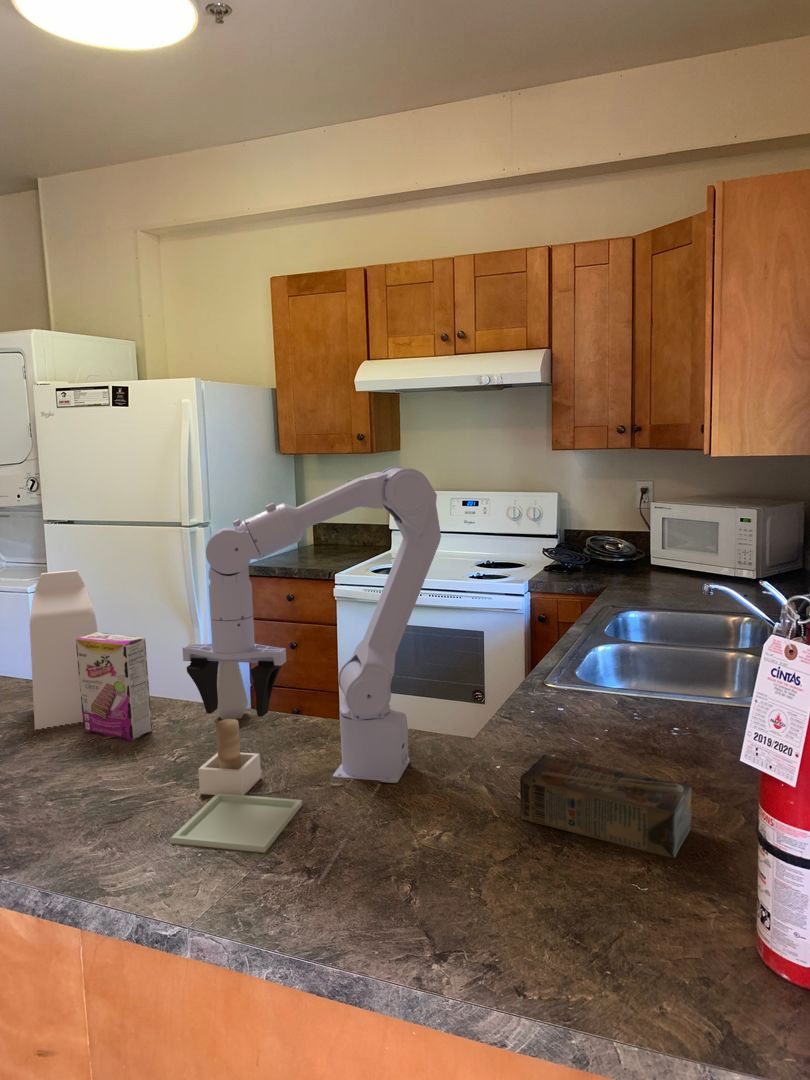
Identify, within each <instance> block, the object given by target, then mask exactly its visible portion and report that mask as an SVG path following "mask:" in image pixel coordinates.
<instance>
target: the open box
mask: <svg viewBox="0 0 810 1080" xmlns="http://www.w3.org/2000/svg"><path fill="white" fill-rule="evenodd" d="M240 757H241V768H240V769H239V770H234V769H220V768H219V762H218V752H216V753H215V754H214V755H213V756H212V757H210V758H209V759H208V760H207V761H205V762H204V764H202V765H201V766H200V767H199V768H198V769H197V770H198V781H199V782H198V783H199V794H200V795H209V796H210V795H211V796H215V795H216V794H217V793H222V794H234V795H246V794H247V793H248V792H249V791H250V790H251V789H252V787H254V786H255V785H256V784H257V783H258V782H259V780H260V779H261V778H262V771H261V770H262V768H261V754H260V753H256V752H255V753H254V752H253V753H252V752H242V751H240Z"/></svg>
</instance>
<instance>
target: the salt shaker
mask: <svg viewBox="0 0 810 1080" xmlns="http://www.w3.org/2000/svg"><path fill="white" fill-rule="evenodd" d="M244 684H245V683H244V680H243V675H242V673H241V668H240V662H224V661H219V665H218V674H217V693H218V709H216V710H215V711H216V712H217V715H218V716H219V717H220V719H221V720H225V719H235V720H239V719H242V718H243V716H244V713H245V711H246V709H247V708H248V697H247V693H246V692H247V691H246V689H245V685H244Z"/></svg>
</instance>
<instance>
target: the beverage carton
mask: <svg viewBox="0 0 810 1080" xmlns="http://www.w3.org/2000/svg"><path fill="white" fill-rule="evenodd" d="M519 782H520V783H519V784H520V786H519V788H520V789H519V791H520V792H519V793H520V819H521V820H524V821H527V822H530V823H535V824H538V825H543V826H547V827H550V828H555V829H558V830H561V831H566V832H570V833H573V834H577V835H581V836H584V837H587V838H588V837H589V838H592V839H595V840H600V841H604V842H607V843H612V844H614V845H618V846H622V847H626V848H631V849H636V850H639V851H643V852H648V853H650V854H651V853H652V854H656V855H659V856H664V857H667V858H671V859H675V858H676V857H677V855H678V852H679V851H680V849H681V847H682V845H683V843H684V841H685V840H686V838H687V836H688V835H689V833H690V831H691V826H692V825H691V823H692V822H691V821H692V795H693V794H692V791H693V790H692V787H691V786H689V785H686V784H682V783H676V782H674V781H673V782H672V781H666V780H661V779H658V778H655V777H650V776H646V775H642V774H641V775H640V774H638V773H637V774H636V773H632V772H627V771H624V770H619V769H614V768H612V767H611V768H610V767H605V766H600V765H595V764H592V763H587V762H582V761H579V760H574V759H569V758H566V757H565V758H564V757H560V756H556V755H547V754H543V755H542V756H541V757H540V758H539V759H538V760H537V761H536V762H535V763H534V764H532V766H530V767H529V769H528V770H526V771H525V772H524V773H523V774H522V775H520V780H519Z"/></svg>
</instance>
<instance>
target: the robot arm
mask: <svg viewBox="0 0 810 1080" xmlns="http://www.w3.org/2000/svg"><path fill="white" fill-rule="evenodd" d="M437 497H438V495H437V492H436V491H435V489H434V488H433V485H432V484H431V483H430V480H429V479H428V478H427V476H426V474H424V473H422V471H420V470H418V469H415V468H410V467H408V468H407V467H406V468H405V467H403V466H389V467H388V468H385V469H384V470H383V471H376V472H372V473H369V474H366V475H363V476H360V477H357V478H354V479H353V480H350V481H348V482H346V483H345V484H344V483H343V484H342V485H340V486H337V487H336V488H334V489H332V490H330V491H328V492H326V493H323V494H321V495H319V496H317V497H315V498H314V499H312V500H311V499H310V500H309V501H307V502H305V503H303V504H301V505H299V506H297V507H295V506H292V505H290V504H287V503H284V502H281V503H280V504H278V505H276V504H275V503H274V502H270V503H269V504H267V505H265V510H264V511H262V512H259V513H257V514H255V515H252V516H250V517H247V518H246V519H244V520H241V519H240V518H237V519H235V520H233V521H232V524H233V527H223V528H220V529H218V530H216V531H214V532H213V533H212V534H211V536H210V537H209V538H208V539H209V540H208V541H207V545H206V547H205V548H206V549H205V558H206V560H207V563H208V565H209V570H208V580H209V581H210V582H209V584H208V597H209V602H208V603H209V615H210V617H209V618H210V631H211V643H200V644H198V643H196V644H195V643H190V644H187V645H185V646H183V647H182V662H190V663H189V665H187V666H186V673H187V674H188V675H189V677H190V678H191V679H192V681H193V683H194V684H195V686H196V688H197V690H198V693H199V695H200V697H201V700H202V702H203V706H204V709H205V713H206V714H212V713H214V712H215V711H216V709H218V693H217V675H218V666H219V661H224V662H238V663H245V664H246V663H247V664H248V663H251V664H257V665H255V666H254V667H252V668H251V669H250V674H251V677H252V681H253V686H254V687H253V688H254V691H255V692H254V693H255V706H256V709H255V711H256V714H257V715H256V716H257V717H259V718H260V717H261V718H262V717H265V715H266V714H268V713H269V706H270V699H271V696H272V692H273V688H274V685H275V683H276V679H277V678H278V676H279V672H280V670H281V669H282V666H283V665H284V664H285V663H286V662H287V649H286V647H275V646H269V645H263V644H258V643H255V642H256V641H255V626H254V621H255V620H254V607H253V606H254V605H253V602H254V601H253V589H252V587H253V584H252V581H251V579H250V574H249V573H250V572H249V570H250V569H249V568H250V567H249V565H250V563H251V560H256V561H257V560H261V559H264V558H266V557H268V556H271V555H273V554H275V553H277V552H280V551H282V550H284V549H286V548H288V547H290V546H293V545H295V544H297V543H299V542H301V540H302V538H303V536H304V532H305V531H306V529H307V528H310V527H312V526H315V525H318V524H320V523H322V522H326V521H327V520H330V519H332V518H334V517H338V516H340V515H342V514H344V513H346V512H349V511H351V510H354V509H357V508H371V509H378V510H379V509H380V510H383V509H385V511H387V512H388V513H389V514H390V515H391V517H392V518H393V520H394V523H395V525H396V526H397V528H398V530H399V532H400V535H401V536H402V540H401V543H400V546H399V548H398V550H397V553H396V556H395V558H394V561H393V563H392V566H391V568H390V571H389V573H388V576H387V579H386V581H385V584H384V586H383V588H382V590H381V592H380V596H379V599H378V601H377V604H376V606H375V609H374V611H373V613H372V617H371V619H370V620H369V624H368V626H367V628H366V631H365V634H364V636H363V639H362V640H361V641H360V642H359V643H358V644H357V646H356V647H355V649H354V651H353V654H352V656H351V657H349V659H348V660H347V661H346V662H345V663H343V665H341V668H340V670H339V672H338V676H337V681H338V686H339V689H340V690H341V692H342V693H343V695H344V697H345V698H344V699H343V702H342V703H341V705H340V707H339V725H340V726H339V729H340V731H339V732H340V747H341V748H340V749H341V764H340V765H339V767H338V768H337V769H336V770H335V772H333V775H332V777H333V778H341V779H354V780H370V781H378V782H379V783H387V784H388V783H390V784H396V783H398V782H399V781H400V780H401V778H402V776H403V774H404V772H405V771H406V769H407V767H408V765H409V764H410V761H411V758H410V757H409V736H408V735H409V730H408V728H409V727H408V720H407V719H408V718H407V713H405V712H403V711H402V712H401V711H396V710H393V709H392V708H391V705H390V703H391V699H392V691H391V690H392V689H391V683H392V679H393V677H394V675H395V665H396V664H395V663H396V654H397V651H398V649H399V646H400V644H401V641H402V639H403V636H404V633H405V631H406V629H407V626H408V623H409V621H410V619H411V615H412V613H413V611H414V608H415V607H416V606H415V605H416V603H417V601H418V599H419V595H420V593H421V590H422V588H423V586H424V582H425V580H426V578H427V575H428V573H429V571H430V569H431V565H432V562H433V560H434V558H435V555H436V552H437V550H438V548H439V545H440V543H441V538H442V533H441V528H440V520H439V515H438V514H439V513H438V508H437Z"/></svg>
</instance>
